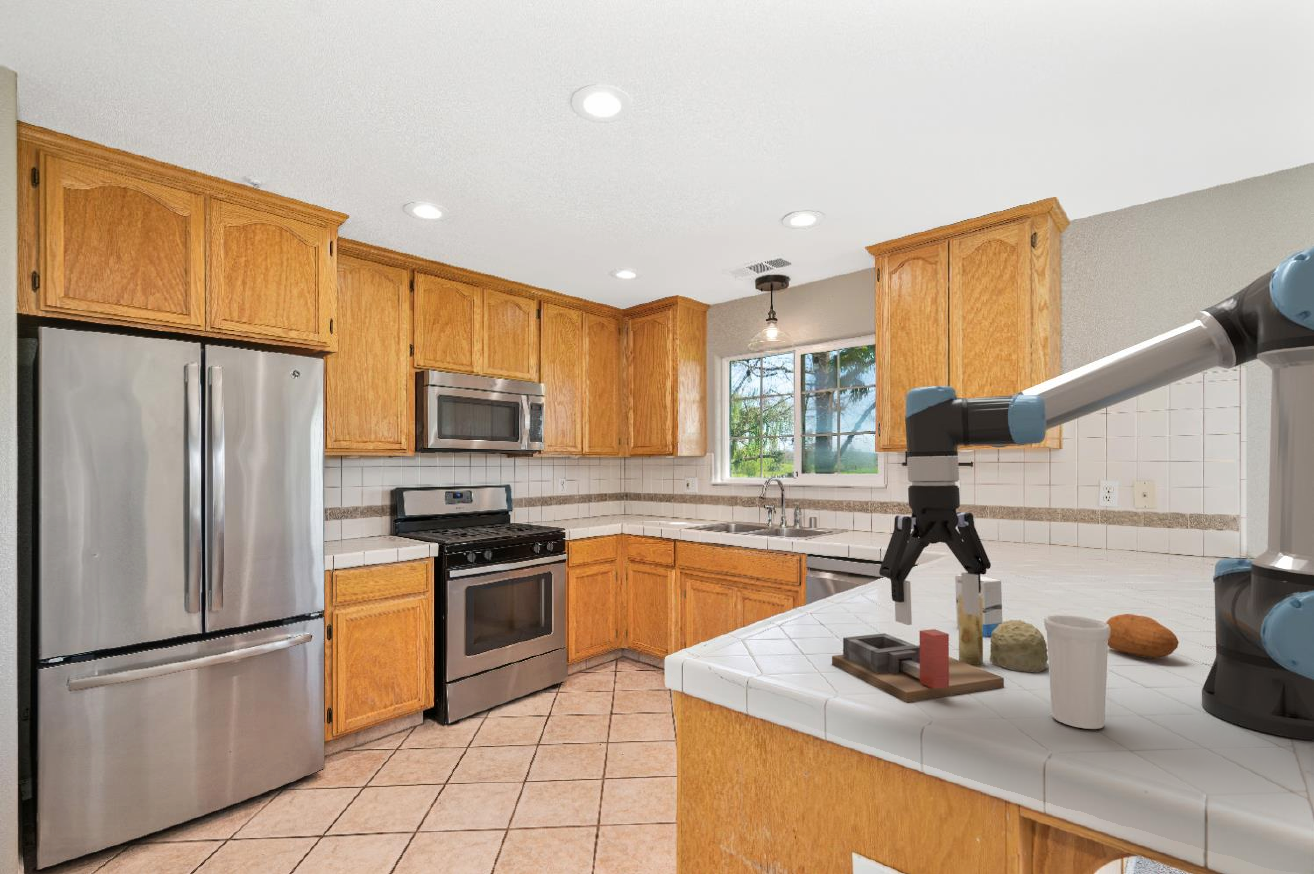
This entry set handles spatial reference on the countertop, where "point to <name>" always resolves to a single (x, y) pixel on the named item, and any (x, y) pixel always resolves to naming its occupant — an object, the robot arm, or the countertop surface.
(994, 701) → the countertop surface
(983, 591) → the ink box
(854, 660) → the mount
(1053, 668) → the cup
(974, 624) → the upright brass rod
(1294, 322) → the robot arm
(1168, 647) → the potato
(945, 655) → the pin
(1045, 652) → the decorative object
